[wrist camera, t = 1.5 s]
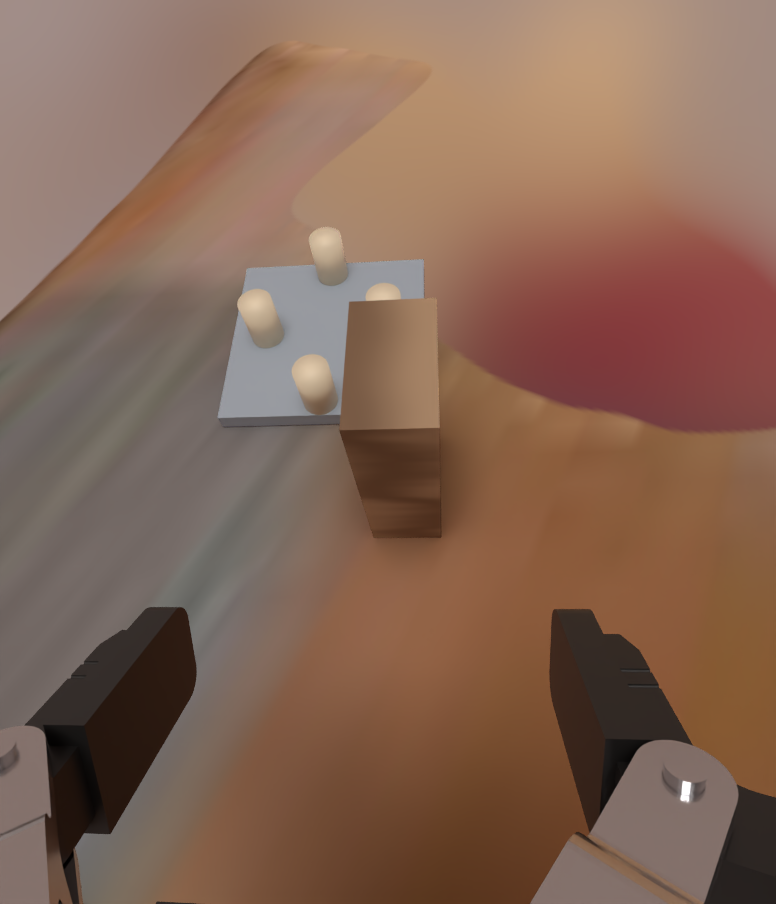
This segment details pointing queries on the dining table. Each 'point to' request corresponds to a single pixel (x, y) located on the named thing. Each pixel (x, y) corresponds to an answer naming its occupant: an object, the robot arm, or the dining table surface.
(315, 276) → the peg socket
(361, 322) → the brown rectangular block
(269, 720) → the dining table surface
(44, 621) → the dining table surface
